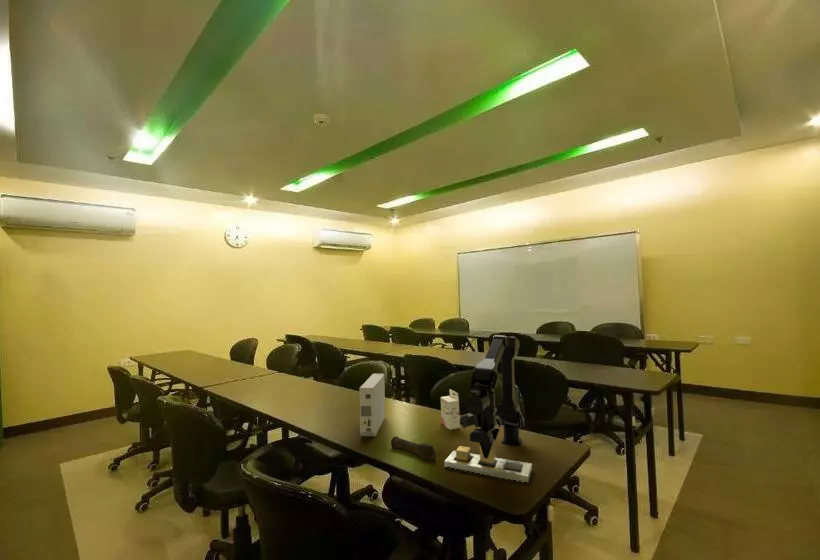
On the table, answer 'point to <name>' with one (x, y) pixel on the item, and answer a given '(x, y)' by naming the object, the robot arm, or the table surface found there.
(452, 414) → the ink cartridge box
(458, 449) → the white slotted tray
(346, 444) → the table surface
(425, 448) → the dark brown elongated piece
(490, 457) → the block
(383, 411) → the game console
